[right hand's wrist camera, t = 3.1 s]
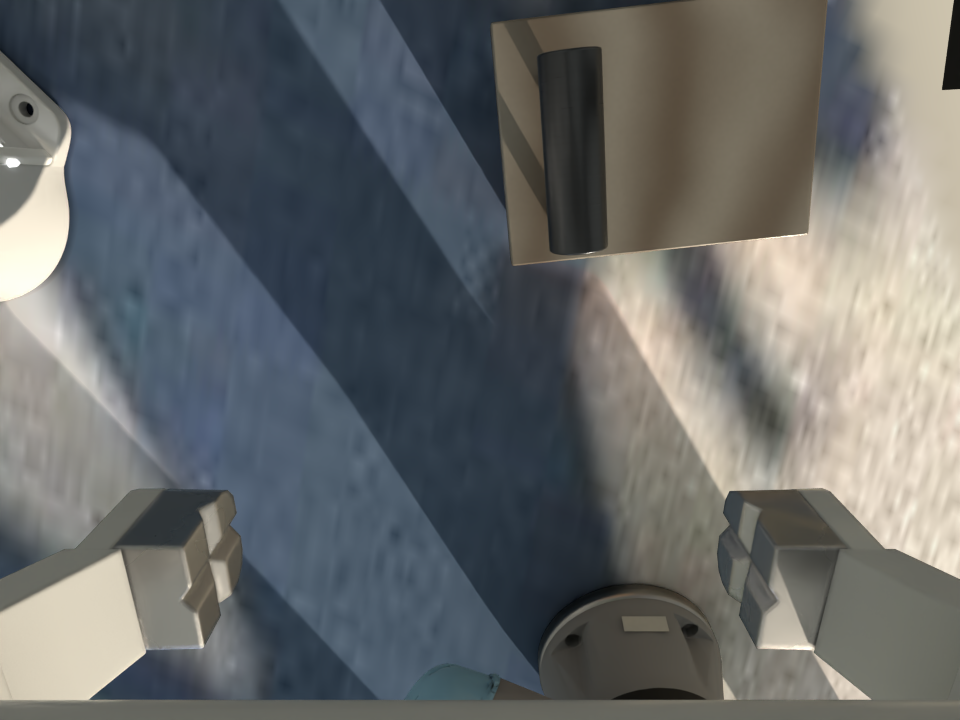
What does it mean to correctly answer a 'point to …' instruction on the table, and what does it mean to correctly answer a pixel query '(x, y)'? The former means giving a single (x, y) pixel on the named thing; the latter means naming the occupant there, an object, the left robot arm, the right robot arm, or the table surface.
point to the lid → (657, 125)
